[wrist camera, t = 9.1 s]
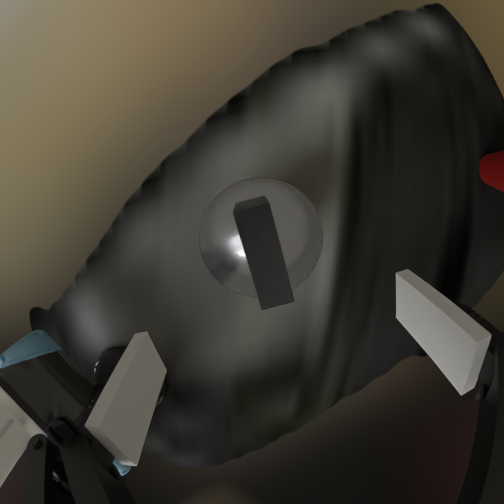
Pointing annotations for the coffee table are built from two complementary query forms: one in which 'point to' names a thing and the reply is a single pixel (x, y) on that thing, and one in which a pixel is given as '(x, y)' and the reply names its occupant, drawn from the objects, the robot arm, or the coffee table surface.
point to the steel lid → (261, 239)
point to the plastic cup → (493, 170)
